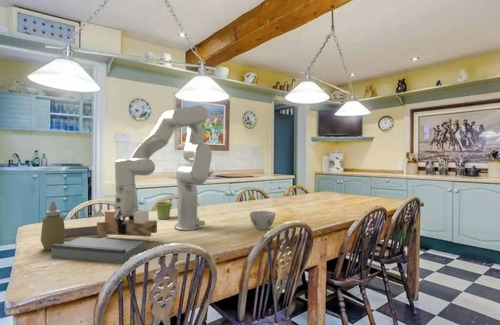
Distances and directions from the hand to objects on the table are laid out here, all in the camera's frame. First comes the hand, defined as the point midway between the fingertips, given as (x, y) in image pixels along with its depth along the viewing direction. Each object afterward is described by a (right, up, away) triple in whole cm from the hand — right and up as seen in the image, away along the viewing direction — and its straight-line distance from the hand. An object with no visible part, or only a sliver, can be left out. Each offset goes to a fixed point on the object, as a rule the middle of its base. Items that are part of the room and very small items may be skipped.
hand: (127, 230), depth 121 cm
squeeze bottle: (-24, -4, -11) cm, 26 cm away
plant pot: (+3, -3, +41) cm, 42 cm away
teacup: (+57, -4, +22) cm, 62 cm away
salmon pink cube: (-7, +4, +1) cm, 8 cm away
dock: (-3, -5, -15) cm, 16 cm away
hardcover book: (-25, -4, +7) cm, 26 cm away
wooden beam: (0, -1, 0) cm, 1 cm away
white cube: (+7, +4, -1) cm, 8 cm away
